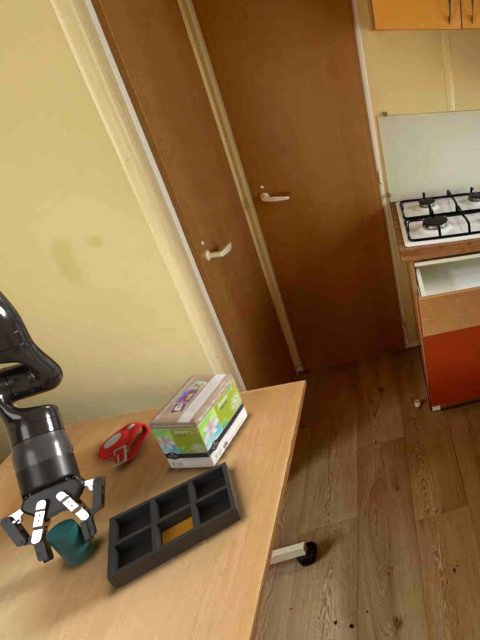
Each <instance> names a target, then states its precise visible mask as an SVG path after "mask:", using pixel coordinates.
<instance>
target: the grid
mask: <svg viewBox="0 0 480 640" xmlns="http://www.w3.org/2000/svg"><path fill="white" fill-rule="evenodd" d="M232 477H233V476H232V473H231V471H230V468H229V466H228V464H227V462H226V461H224V462H222V463H220V464H218V465H215V466H213V467H212V468H210V469H208V470H205V471H204V472H201V473H199V474H197V475H196V476H193V477H191V478H189V479H187V480H185V481H184V482H183V481H182V482H181V483H178V484H177V485H175V486H173V487H171V488H169V489H167V490H165V491H163V492H161V493H158V494H157V495H155V496H153V497H150V498H149V499H146V500H144V501H142V502H140V503H138V504H136V505H134V506H132V507H130V508H127V509H126V510H124V511H122V512H119V513H118V514H116V515H114V516H112V517H109V519H108V540H107V541H108V544H107V545H108V546H107V569H106V570H107V572H106V573H107V574H106V580H107V581H108V582H109V583H110V584H111V586H112V587H113V588H114V589H115V590H118V589H120V588H121V587H123V586H125V585H127V584H129V583H131V582H132V581H134V580H136V579H138V578H139V577H142V576H143V575H145V574H147V573H148V572H150V571H152V570H153V569H155V568H157V567H159V566H160V565H162V564H164V563H166V562H167V561H170V560H171V559H173V558H174V557H176V556H179V555H180V554H182V553H184V552H186V551H187V550H189V549H190V548H192V547H194V546H196V545H198V544H199V543H202V542H203V541H205V540H207V539H208V538H210V537H211V536H214V535H216V534H217V533H219V532H221V531H222V530H224V529H226V528H228V527H229V526H232V525H233V524H235V523H237V522H238V521H240V520H242V516H241V510H240V507H239V502H238V498H237V494H236V490H235V489H236V488H235V485H234V481H233V478H232Z"/></svg>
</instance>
